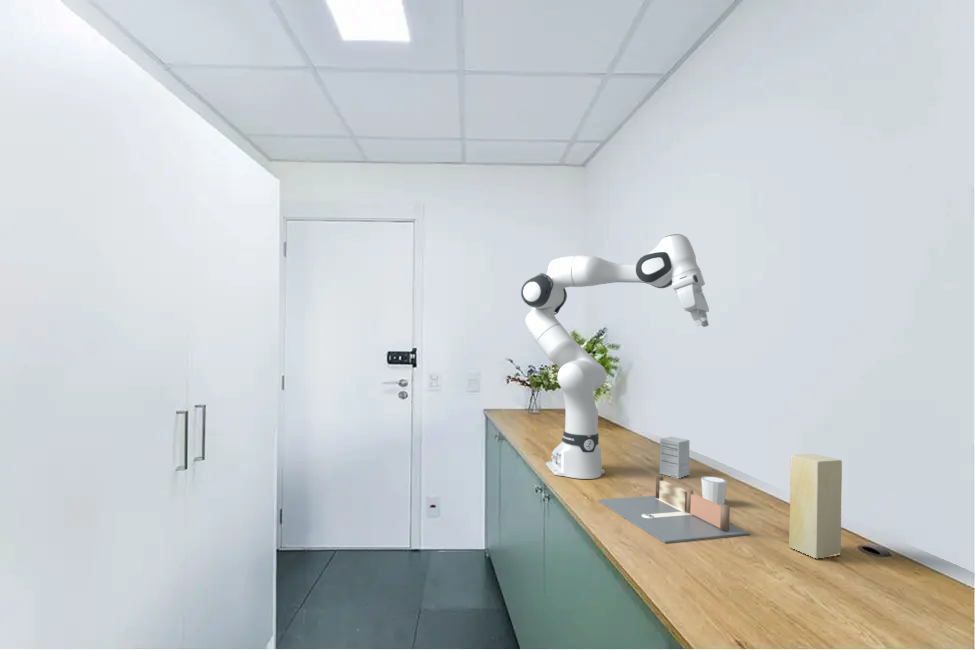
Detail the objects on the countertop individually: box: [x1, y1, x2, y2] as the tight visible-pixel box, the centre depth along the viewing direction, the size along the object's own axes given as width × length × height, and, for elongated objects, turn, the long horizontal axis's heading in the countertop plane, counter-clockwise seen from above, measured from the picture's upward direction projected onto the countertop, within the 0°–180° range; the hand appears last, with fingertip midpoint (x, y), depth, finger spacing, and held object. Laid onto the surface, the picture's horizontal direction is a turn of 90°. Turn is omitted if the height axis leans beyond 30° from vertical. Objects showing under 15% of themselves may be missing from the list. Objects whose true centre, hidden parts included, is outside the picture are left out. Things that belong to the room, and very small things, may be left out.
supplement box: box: [659, 436, 690, 479], centre depth 175 cm, size 7×7×13 cm
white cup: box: [700, 476, 728, 506], centre depth 145 cm, size 7×7×7 cm
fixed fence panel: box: [655, 475, 687, 511], centre depth 141 cm, size 13×2×6 cm, turn 17°
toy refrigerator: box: [788, 453, 843, 560], centre depth 113 cm, size 8×7×21 cm
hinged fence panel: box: [686, 489, 731, 531], centre depth 128 cm, size 14×2×6 cm, turn 17°
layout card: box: [597, 495, 750, 544], centre depth 132 cm, size 30×24×1 cm
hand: (702, 325), depth 152 cm, fingers open, 8 cm apart
